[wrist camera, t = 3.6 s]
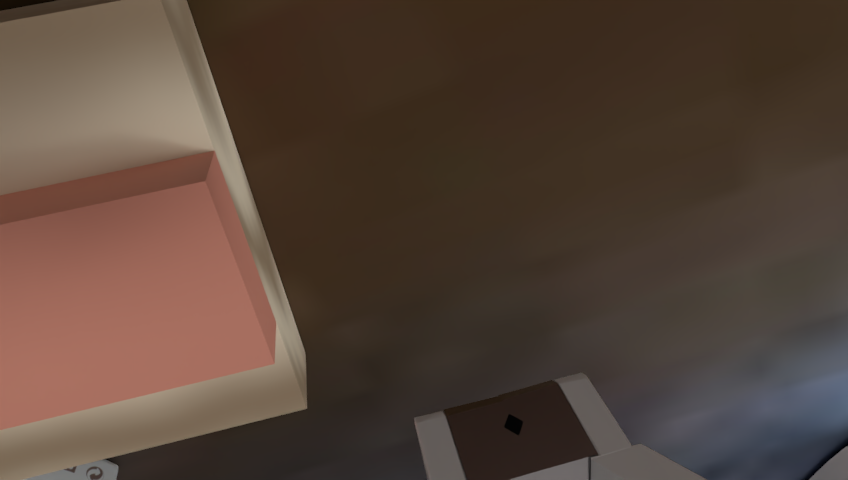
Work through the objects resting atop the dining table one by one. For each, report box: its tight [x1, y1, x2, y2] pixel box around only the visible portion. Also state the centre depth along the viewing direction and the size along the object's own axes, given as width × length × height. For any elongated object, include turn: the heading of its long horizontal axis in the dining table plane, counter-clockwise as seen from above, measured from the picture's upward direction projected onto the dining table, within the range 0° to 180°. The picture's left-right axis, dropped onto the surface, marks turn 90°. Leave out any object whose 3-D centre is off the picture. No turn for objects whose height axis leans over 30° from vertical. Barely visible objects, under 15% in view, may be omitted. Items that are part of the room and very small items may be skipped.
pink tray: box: [0, 151, 276, 430], centre depth 16 cm, size 9×6×2 cm, turn 99°
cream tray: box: [0, 0, 307, 480], centre depth 18 cm, size 14×12×3 cm
